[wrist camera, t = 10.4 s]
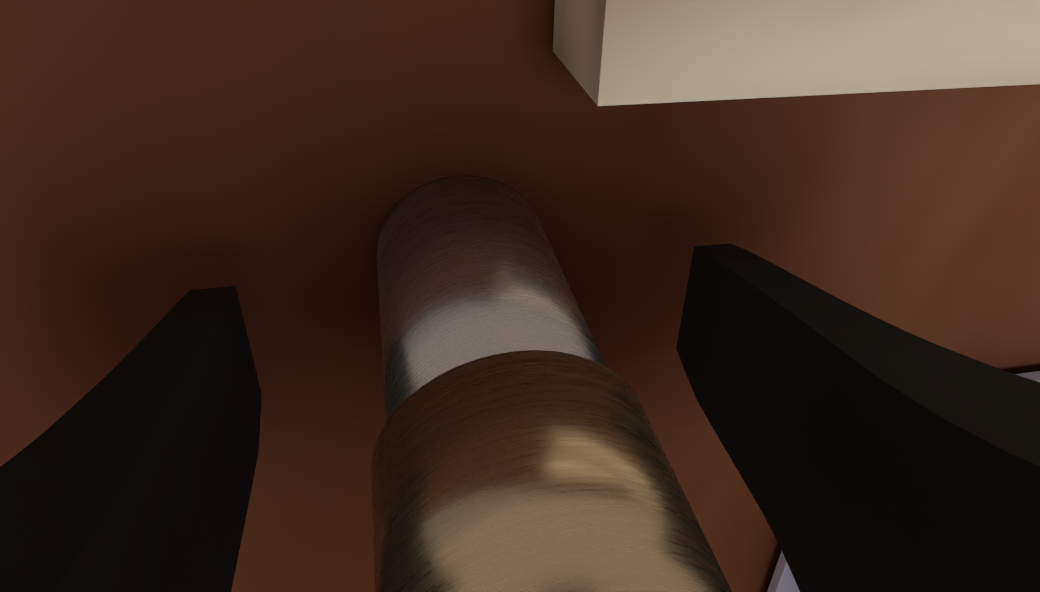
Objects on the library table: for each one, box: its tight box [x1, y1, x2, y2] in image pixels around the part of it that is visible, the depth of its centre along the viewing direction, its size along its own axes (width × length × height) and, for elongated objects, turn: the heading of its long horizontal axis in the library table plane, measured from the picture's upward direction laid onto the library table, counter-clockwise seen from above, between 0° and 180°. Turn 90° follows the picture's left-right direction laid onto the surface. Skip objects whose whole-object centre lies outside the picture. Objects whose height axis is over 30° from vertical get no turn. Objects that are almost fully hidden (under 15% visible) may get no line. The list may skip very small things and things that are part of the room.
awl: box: [371, 176, 732, 592], centre depth 10 cm, size 3×3×8 cm
